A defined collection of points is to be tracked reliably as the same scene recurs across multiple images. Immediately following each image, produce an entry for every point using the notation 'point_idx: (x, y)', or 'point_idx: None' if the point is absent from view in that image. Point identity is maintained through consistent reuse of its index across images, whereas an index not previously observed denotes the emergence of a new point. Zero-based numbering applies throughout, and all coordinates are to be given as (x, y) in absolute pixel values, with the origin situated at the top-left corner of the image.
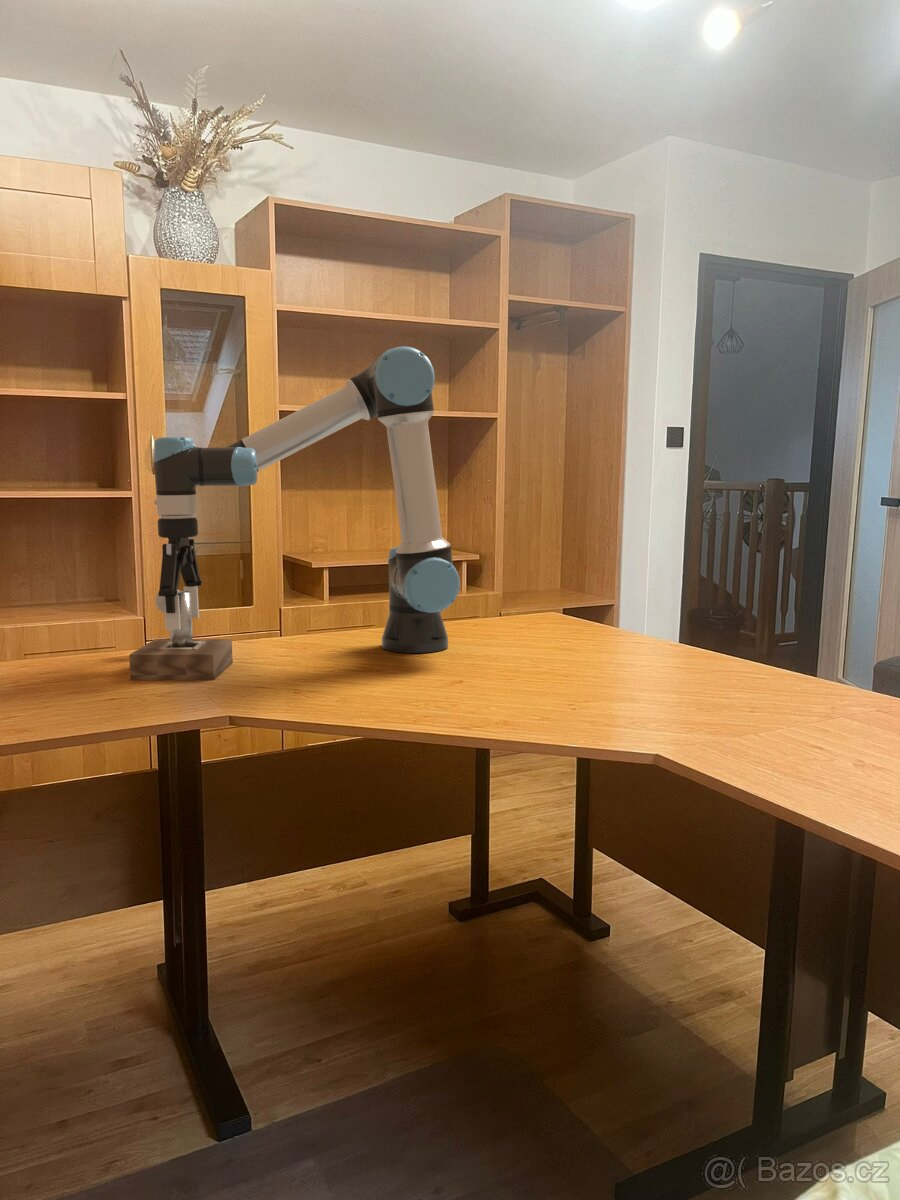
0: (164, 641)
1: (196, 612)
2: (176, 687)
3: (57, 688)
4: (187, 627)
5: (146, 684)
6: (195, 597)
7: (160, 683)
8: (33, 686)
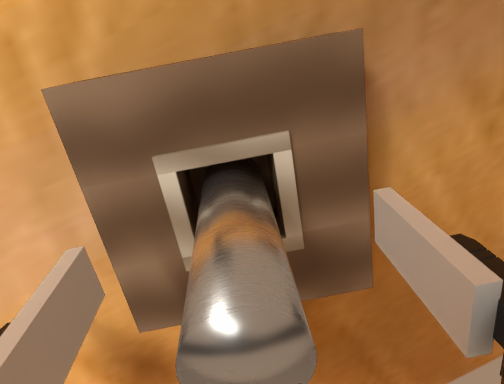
0: (166, 293)
1: (75, 267)
2: (421, 104)
3: (420, 335)
4: (259, 207)
5: None
6: (38, 326)
7: (377, 166)
8: (403, 376)
